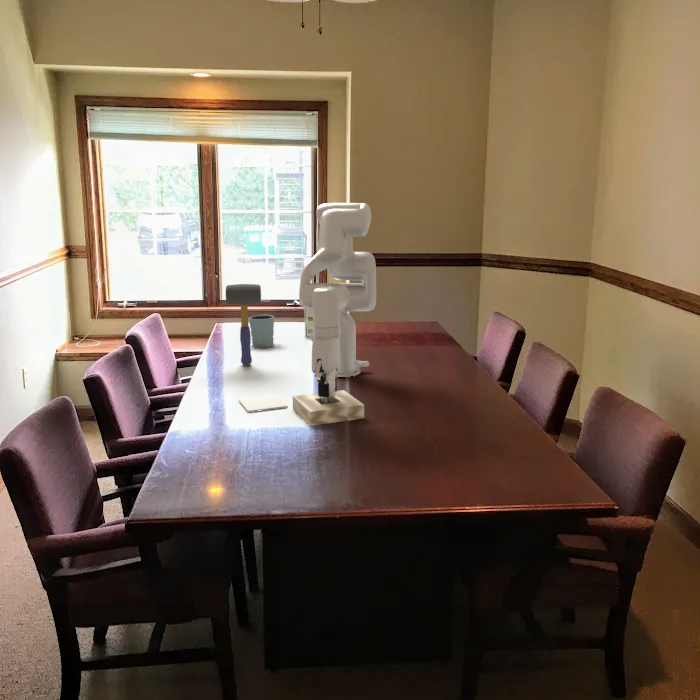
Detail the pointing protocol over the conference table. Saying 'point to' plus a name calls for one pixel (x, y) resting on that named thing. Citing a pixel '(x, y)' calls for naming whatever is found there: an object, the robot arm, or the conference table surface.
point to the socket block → (328, 408)
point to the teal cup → (262, 330)
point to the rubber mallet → (244, 312)
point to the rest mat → (262, 403)
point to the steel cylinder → (331, 389)
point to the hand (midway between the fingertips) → (327, 393)
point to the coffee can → (308, 323)
